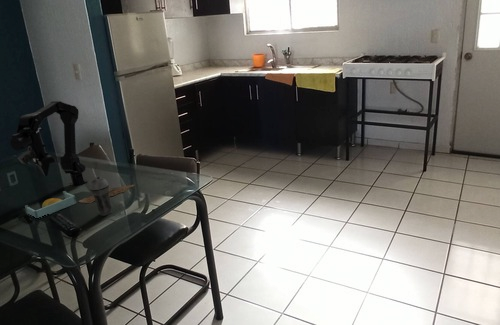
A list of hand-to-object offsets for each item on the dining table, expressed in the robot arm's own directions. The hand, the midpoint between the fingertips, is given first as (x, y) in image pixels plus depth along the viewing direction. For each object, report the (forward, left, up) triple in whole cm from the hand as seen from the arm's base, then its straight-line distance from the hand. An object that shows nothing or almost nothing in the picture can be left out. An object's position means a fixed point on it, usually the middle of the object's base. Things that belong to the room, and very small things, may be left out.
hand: (46, 175), depth 187 cm
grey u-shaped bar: (+12, -5, -12) cm, 18 cm away
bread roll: (+11, -4, -12) cm, 17 cm away
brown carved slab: (+21, +17, -12) cm, 29 cm away
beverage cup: (+40, +5, -12) cm, 42 cm away
